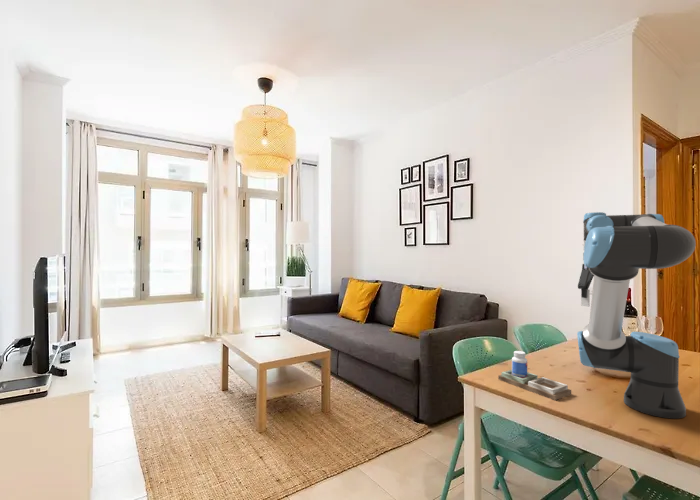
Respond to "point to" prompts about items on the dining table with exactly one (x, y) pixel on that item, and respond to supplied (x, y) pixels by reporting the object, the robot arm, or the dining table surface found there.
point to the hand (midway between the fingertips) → (594, 304)
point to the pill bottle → (519, 364)
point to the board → (537, 385)
